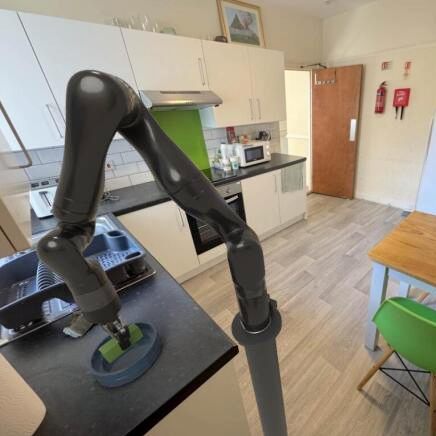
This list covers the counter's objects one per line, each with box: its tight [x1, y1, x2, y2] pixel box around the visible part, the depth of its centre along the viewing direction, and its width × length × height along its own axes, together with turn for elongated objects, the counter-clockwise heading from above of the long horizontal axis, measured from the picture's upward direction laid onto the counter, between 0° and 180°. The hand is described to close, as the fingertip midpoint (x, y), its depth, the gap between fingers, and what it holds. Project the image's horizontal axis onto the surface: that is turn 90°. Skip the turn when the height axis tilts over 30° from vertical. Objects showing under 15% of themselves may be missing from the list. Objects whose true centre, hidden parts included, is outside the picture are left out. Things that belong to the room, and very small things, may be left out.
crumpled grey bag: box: [62, 310, 94, 339], centre depth 78 cm, size 10×7×12 cm
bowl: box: [87, 320, 162, 388], centre depth 68 cm, size 16×16×6 cm
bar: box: [99, 322, 143, 363], centre depth 66 cm, size 9×3×4 cm, turn 149°
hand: (123, 344), depth 66 cm, fingers closed on bar, 3 cm apart
